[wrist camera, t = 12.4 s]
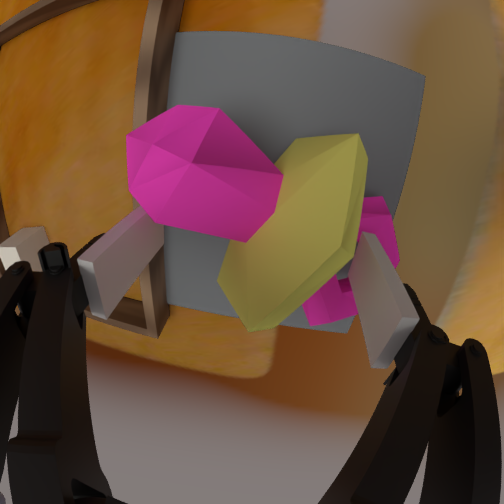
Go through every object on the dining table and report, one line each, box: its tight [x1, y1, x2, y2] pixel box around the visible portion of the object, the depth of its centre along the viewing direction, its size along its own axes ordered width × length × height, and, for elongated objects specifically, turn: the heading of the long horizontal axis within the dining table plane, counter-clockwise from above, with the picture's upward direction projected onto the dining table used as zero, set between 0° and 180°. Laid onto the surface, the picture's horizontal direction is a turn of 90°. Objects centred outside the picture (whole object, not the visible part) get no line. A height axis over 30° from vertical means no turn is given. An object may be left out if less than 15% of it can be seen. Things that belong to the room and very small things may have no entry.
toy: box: [126, 105, 400, 332], centre depth 14 cm, size 10×18×10 cm, turn 54°
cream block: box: [0, 226, 49, 272], centre depth 24 cm, size 5×5×5 cm
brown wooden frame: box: [0, 0, 184, 339], centre depth 19 cm, size 32×26×4 cm
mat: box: [164, 31, 425, 333], centre depth 20 cm, size 24×18×1 cm
